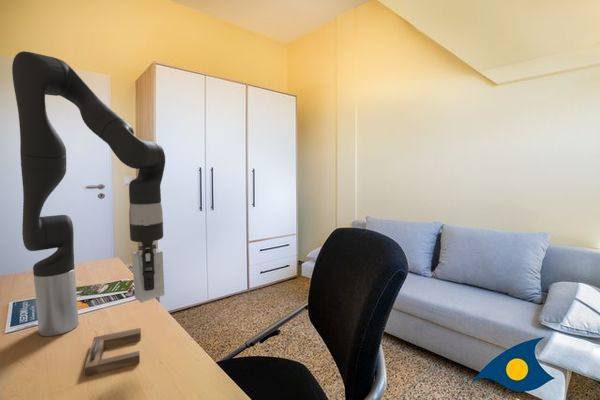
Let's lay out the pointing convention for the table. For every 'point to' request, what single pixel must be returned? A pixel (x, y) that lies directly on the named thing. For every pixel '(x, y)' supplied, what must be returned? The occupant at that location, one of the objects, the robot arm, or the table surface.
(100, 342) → the wooden u-shaped block
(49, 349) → the table surface
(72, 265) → the robot arm
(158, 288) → the skincare box
